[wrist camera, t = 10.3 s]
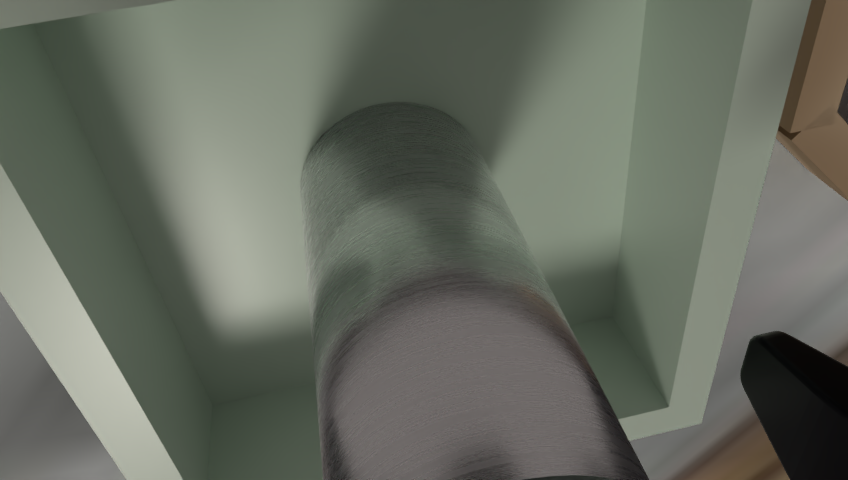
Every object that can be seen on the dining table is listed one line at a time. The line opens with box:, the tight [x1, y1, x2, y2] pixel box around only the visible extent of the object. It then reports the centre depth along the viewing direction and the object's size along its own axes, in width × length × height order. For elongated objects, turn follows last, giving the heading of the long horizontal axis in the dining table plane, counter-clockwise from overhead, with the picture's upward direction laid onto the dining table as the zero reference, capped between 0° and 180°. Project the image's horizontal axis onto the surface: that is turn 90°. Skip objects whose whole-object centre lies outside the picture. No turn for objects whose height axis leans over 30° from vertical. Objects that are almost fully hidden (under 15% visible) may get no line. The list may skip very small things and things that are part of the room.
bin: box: [0, 0, 811, 480], centre depth 13 cm, size 13×13×4 cm
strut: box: [300, 102, 649, 480], centre depth 10 cm, size 4×4×10 cm
